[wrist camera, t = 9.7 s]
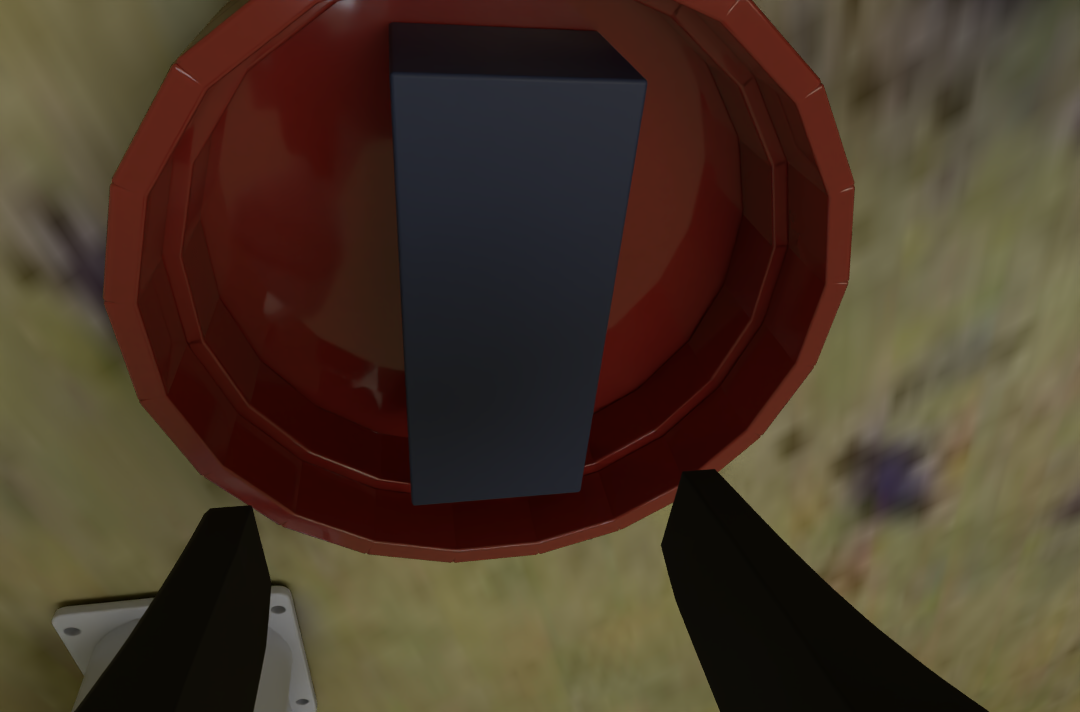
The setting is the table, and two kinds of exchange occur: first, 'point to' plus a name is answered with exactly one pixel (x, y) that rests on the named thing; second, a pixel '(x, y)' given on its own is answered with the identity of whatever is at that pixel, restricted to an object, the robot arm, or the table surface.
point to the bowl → (374, 279)
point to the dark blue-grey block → (506, 247)
